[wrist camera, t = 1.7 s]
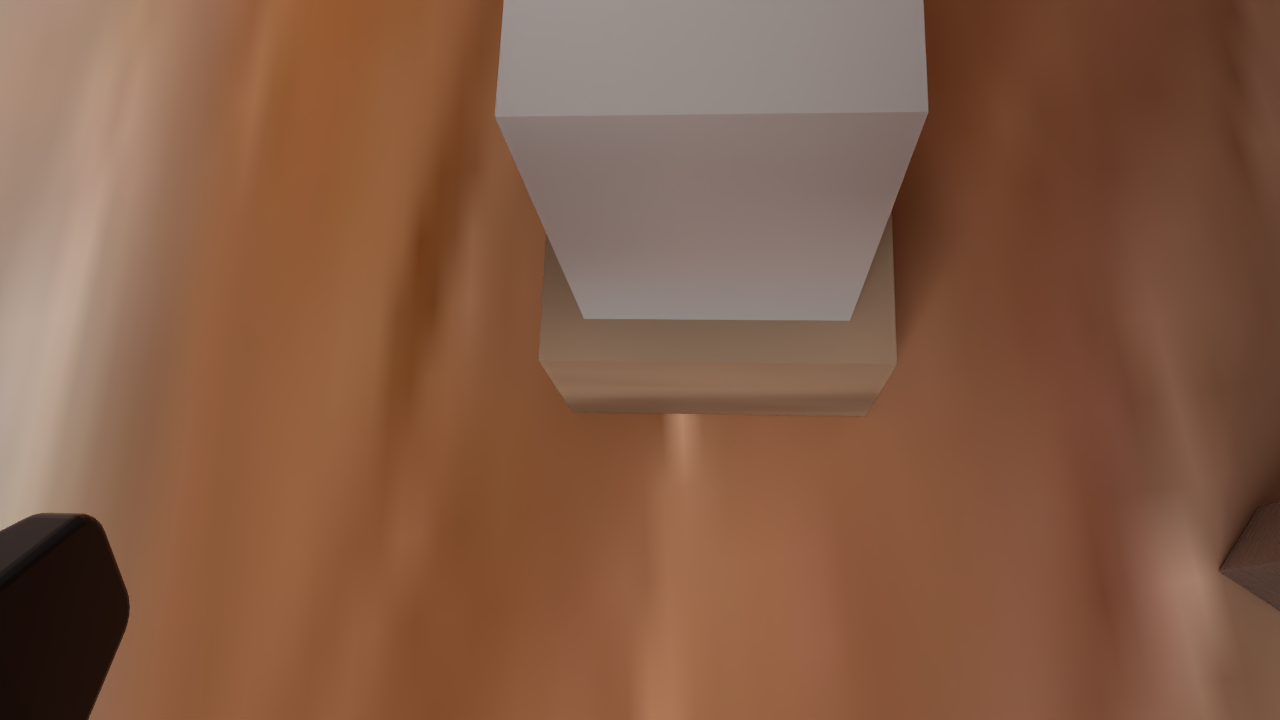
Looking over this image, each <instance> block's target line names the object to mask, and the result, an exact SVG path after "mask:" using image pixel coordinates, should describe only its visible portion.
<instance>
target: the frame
mask: <svg viewBox="0 0 1280 720" xmlns="http://www.w3.org/2000/svg"><path fill="white" fill-rule="evenodd" d="M1219 571H1220V572H1222V573H1223V574H1225V575H1226V576H1228V577H1229V578H1231V579H1232V580H1234V581H1235V582H1237V583H1238V584H1240V585H1241V586H1243V587H1244V588H1246V589H1248V590H1249V591H1251V592H1252V593H1254V594H1255V595H1257V596H1258V597H1260V598H1261V599H1263V600H1264V601H1266V602H1267V603H1269V604H1270V605H1272V606H1273V607H1275V608H1276V609H1278V610H1279V611H1280V501H1279V502H1275V503H1271V504H1267V505H1264V506H1260V507H1258V508H1257V510H1256V512H1255V513H1254V515H1253V516H1252V518H1251V520H1250V521H1249V523H1248V525H1247V526H1246V528H1245V529H1244V531H1243V533H1242V534H1241V536H1240V537H1239V539H1238V541H1237V542H1236V544H1235V546H1234V547H1233V549H1232V550H1231V552H1230V554H1229V555H1228V557H1227V559H1226V560H1225V562H1224V563H1223V565H1222V567H1221V568H1220V570H1219Z"/></svg>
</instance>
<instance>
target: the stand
mask: <svg viewBox="0 0 1280 720" xmlns="http://www.w3.org/2000/svg"><path fill="white" fill-rule="evenodd" d="M538 361H539V362H540V364H541V365H542V367H543V368H544V370H545V371H546V373H547V374H548V376H549V377H550V379H551V380H552V382H553V383H554V385H555V386H556V388H557V389H558V391H559V392H560V394H561V395H562V397H563V398H564V400H565V401H566V403H567V404H568V406H569V407H570V409H571V410H572V412H610V413H678V414H746V415H815V416H866V415H867V413H868V412H869V410H870V408H871V407H872V405H873V403H874V402H875V400H876V398H877V397H878V395H879V393H880V392H881V390H882V388H883V387H884V385H885V383H886V382H887V380H888V378H889V377H890V375H891V373H892V372H893V370H894V368H895V367H896V365H897V350H896V321H895V292H894V263H893V234H892V210H891V213H890V216H889V218H888V221H887V224H886V226H885V229H884V232H883V234H882V237H881V240H880V242H879V245H878V248H877V250H876V253H875V256H874V258H873V261H872V263H871V266H870V269H869V271H868V274H867V277H866V279H865V282H864V285H863V287H862V290H861V293H860V295H859V298H858V301H857V303H856V306H855V309H854V311H853V314H852V317H851V319H850V321H823V320H669V319H584V318H583V315H582V313H581V311H580V309H579V306H578V304H577V302H576V300H575V297H574V295H573V293H572V290H571V288H570V286H569V284H568V281H567V279H566V277H565V275H564V272H563V270H562V268H561V266H560V263H559V261H558V259H557V257H556V254H555V252H554V250H553V247H552V245H551V243H550V241H549V238H548V236H547V234H546V245H545V261H544V277H543V293H542V309H541V326H540V342H539V358H538Z"/></svg>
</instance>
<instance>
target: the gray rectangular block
mask: <svg viewBox="0 0 1280 720" xmlns="http://www.w3.org/2000/svg"><path fill="white" fill-rule="evenodd" d="M928 112H929V110H928V89H927V67H926V46H925V24H924V2H923V0H504V6H503V19H502V31H501V44H500V57H499V69H498V82H497V95H496V107H495V118H496V121H497V123H498V125H499V127H500V130H501V132H502V134H503V137H504V139H505V141H506V143H507V146H508V148H509V150H510V152H511V155H512V157H513V159H514V161H515V164H516V166H517V168H518V170H519V173H520V175H521V177H522V180H523V182H524V184H525V186H526V189H527V191H528V193H529V195H530V198H531V200H532V202H533V204H534V207H535V209H536V211H537V213H538V216H539V218H540V220H541V223H542V225H543V227H544V229H545V232H546V234H547V236H548V238H549V241H550V243H551V245H552V247H553V250H554V252H555V254H556V257H557V259H558V261H559V263H560V266H561V268H562V270H563V272H564V275H565V277H566V279H567V281H568V284H569V286H570V288H571V290H572V293H573V295H574V297H575V300H576V302H577V304H578V306H579V309H580V311H581V313H582V315H583V318H584V319H669V320H823V321H850V319H851V317H852V314H853V311H854V309H855V306H856V303H857V301H858V298H859V295H860V293H861V290H862V287H863V285H864V282H865V279H866V277H867V274H868V271H869V269H870V266H871V263H872V261H873V258H874V256H875V253H876V250H877V248H878V245H879V242H880V240H881V237H882V234H883V232H884V229H885V226H886V224H887V221H888V218H889V216H890V213H891V210H892V208H893V205H894V202H895V200H896V197H897V194H898V192H899V189H900V186H901V184H902V181H903V178H904V176H905V173H906V171H907V168H908V165H909V163H910V160H911V157H912V155H913V152H914V149H915V147H916V144H917V141H918V139H919V136H920V133H921V131H922V128H923V125H924V123H925V120H926V117H927V115H928Z"/></svg>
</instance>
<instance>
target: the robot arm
mask: <svg viewBox="0 0 1280 720" xmlns="http://www.w3.org/2000/svg"><path fill="white" fill-rule="evenodd" d="M129 609H130V605H129V596H128V592H127V589H126V587H125V584H124V581H123V579H122V576H121V573H120V571H119V568H118V565H117V563H116V560H115V557H114V555H113V552H112V549H111V547H110V544H109V541H108V539H107V536H106V533H105V531H104V529H103V527H102V525H101V524H100V523H99V522H98V521H97V520H96V519H95V518H94V517H92V516H89V515H87V514H74V513H40V514H35V515H32V516H30V517H27V518H25V519H23V520H21V521H19V522H17V523H15V524H13V525H11V526H10V527H8V528H6V529H4V530H2V531H0V720H88V719H89V716H90V714H91V712H92V709H93V707H94V704H95V702H96V700H97V697H98V695H99V692H100V690H101V688H102V685H103V683H104V681H105V678H106V676H107V673H108V671H109V669H110V666H111V664H112V661H113V659H114V657H115V654H116V652H117V649H118V647H119V645H120V642H121V640H122V637H123V635H124V633H125V630H126V627H127V623H128V618H129Z"/></svg>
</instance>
